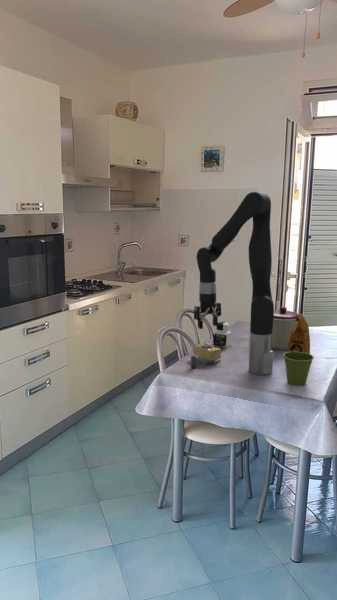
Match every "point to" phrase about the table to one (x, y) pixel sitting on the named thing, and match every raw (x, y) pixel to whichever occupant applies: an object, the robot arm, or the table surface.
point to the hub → (205, 361)
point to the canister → (282, 327)
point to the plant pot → (297, 367)
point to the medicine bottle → (222, 335)
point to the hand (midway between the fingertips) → (207, 327)
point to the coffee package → (299, 336)
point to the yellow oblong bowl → (207, 352)
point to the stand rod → (193, 362)
